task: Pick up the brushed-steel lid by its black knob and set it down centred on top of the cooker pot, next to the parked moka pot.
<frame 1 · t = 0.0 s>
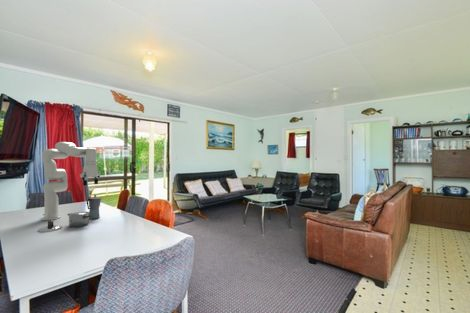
hand: (90, 184, 184), 31 cm above the table, fingers open, 9 cm apart
moka pot: (93, 218, 200), on the table
lid: (50, 229, 169), on the table
cooker pot: (79, 225, 179), on the table
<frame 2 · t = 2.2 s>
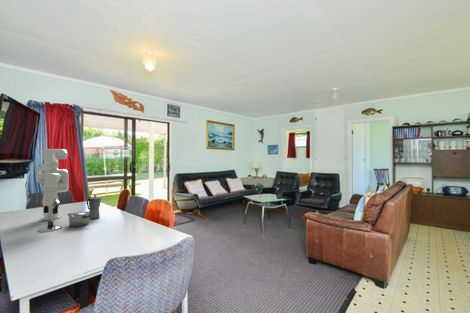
hand: (50, 213, 169), 12 cm above the table, fingers open, 9 cm apart
nothing on the table moved.
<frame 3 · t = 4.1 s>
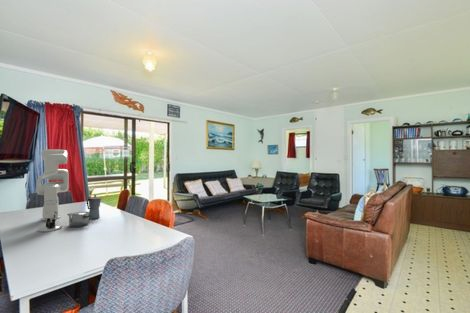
hand: (50, 226, 169), 2 cm above the table, fingers closed on lid, 3 cm apart
lid: (50, 229, 169), on the table, touching gripper
everything else where it was.
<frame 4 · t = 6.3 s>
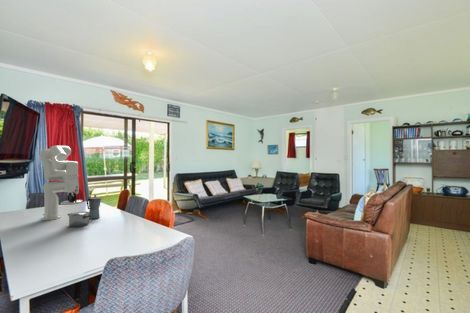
hand: (72, 200, 176), 19 cm above the table, fingers closed on lid, 3 cm apart
lid: (71, 203, 176), point 18 cm above the table, touching gripper
everything else where it was.
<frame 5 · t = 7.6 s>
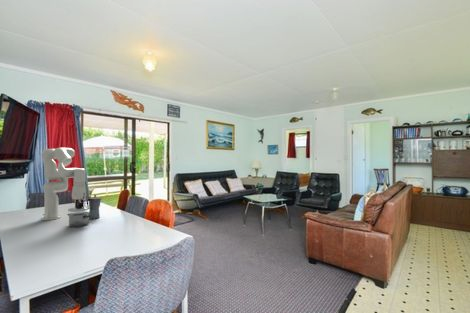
hand: (79, 207, 179), 14 cm above the table, fingers closed on lid, 3 cm apart
lid: (79, 209, 179), point 12 cm above the table, touching gripper
everything else where it was.
when the fingers open (12 cm above the table, at t = 8.5 s): lid drops 1 cm, resting on cooker pot.
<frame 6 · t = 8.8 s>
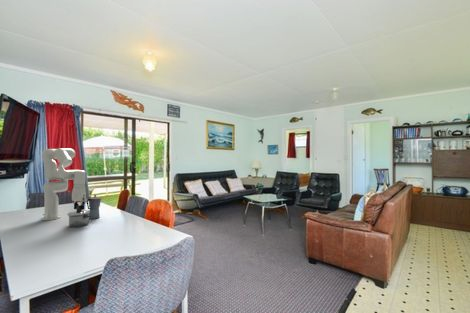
hand: (79, 209, 179), 13 cm above the table, fingers open, 5 cm apart
lid: (79, 213, 179), point 9 cm above the table, touching cooker pot
everything else where it was.
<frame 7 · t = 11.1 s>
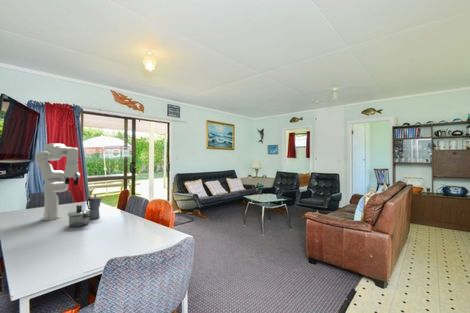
hand: (71, 184, 183), 31 cm above the table, fingers open, 9 cm apart
nothing on the table moved.
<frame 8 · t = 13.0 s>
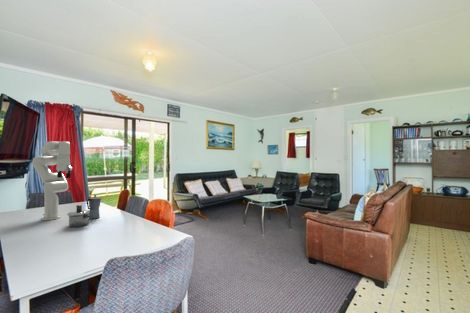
hand: (63, 177, 186), 36 cm above the table, fingers open, 9 cm apart
nothing on the table moved.
at the end: lid 0.1 cm off-centre on the cooker pot, point 9.0 cm above the cooker pot's base; lid tilted 0°; the gripper is holding nothing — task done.
